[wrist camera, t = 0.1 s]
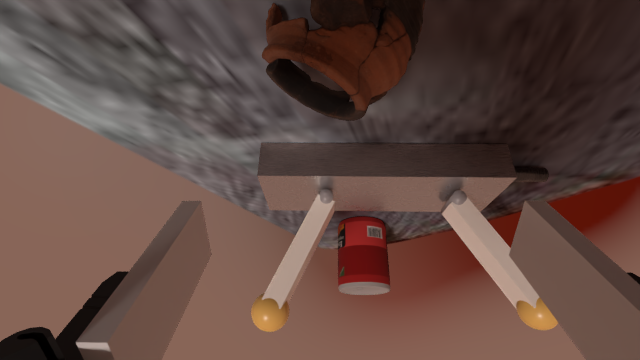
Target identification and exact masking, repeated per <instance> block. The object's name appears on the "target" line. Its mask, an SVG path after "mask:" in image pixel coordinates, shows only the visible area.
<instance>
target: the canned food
mask: <svg viewBox="0 0 640 360" xmlns="http://www.w3.org/2000/svg"><path fill="white" fill-rule="evenodd" d="M338 286H339V291H340V292H342V293H346V294H354V295H355V294H356V295H373V294H382V293H386V292H388V291H390V276H389V265H388V252H387V240H386V228H385V225H384V223H383V221H381V220H380V219H377V218H374V217H365V216H359V217H351V218H347V219H345V220H343V221H341V222H340V224H339V227H338Z"/></svg>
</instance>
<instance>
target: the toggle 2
mask: <svg viewBox="0 0 640 360" xmlns="http://www.w3.org/2000/svg"><path fill="white" fill-rule="evenodd" d="M441 214H442V215H443V216H444V217H445V218H446V220H447V221H448V222H449V224H450V225H451V226H452V227H453V229H454V230H455V231H456V233H457V234H458V235H459V236H460V238H461V239H462V240H463V241H464V243H465V244H466V245H467V246H468V248H469V249H470V251H471V252H472V253H473V254H474V256H475V257H476V258H477V259H478V261H479V262H480V263H481V265H482V266H483V267H484V268H485V270H486V271H487V272H488V273H489V275H490V276H491V277H492V279H493V280H494V281H495V283H496V284H497V285H498V286H499V288H500V289H501V290H502V291H503V293H504V294H505V295H506V296H507V298H508V299H509V300H510V302H511V303H512V304H513V306H514V307H515V308H516V309H517V312H518V315H519V316H520V318H521V319H522V321H523V322H525V324H527V325H528V326H530V327H532V328H534V329H537V330H548V329H552V328H554V327H555V326H556V325H557V324H558V321H557V320H556V319H555V317H554V316H553V314H552V313H551V312H550V310H549V309H548V308H547V306H546V305H545V304H544V302H543V301H542V300H541V298H540V297H539V296H538V294H537V293H536V291H535V290H534V289H533V287H532V286H531V285H530V283H529V282H528V281H527V279H526V278H525V277H524V275H523V274H522V272H521V271H520V270H519V268H518V267H517V266H516V264H515V263H514V262H513V260H512V259H511V258H510V256H509V253H510V250H511V249H510V247H509V246H508V245H507V244H506V243H505V241H504V240H503V239H502V238H501V237H500V236H499V234H498V233H497V232H496V231H495V230H494V228H493V227H492V226H491V225H490V224H489V222H488V221H487V220H486V219H485V218H484V216H483V215H482V214H481V213H480V212H479V211H478V209H477V208H476V207H475V206H474V205H473V203H472V202H471V201H470V200H469V199H468V197H467V195H466V193H465V192H464V191H461V190H457V191H455V192H454V193H453V195H452V196H451V197H450V198H449V200H448V201H447V202H446V203H445V205H444V206H443V207H442V209H441Z"/></svg>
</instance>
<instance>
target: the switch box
mask: <svg viewBox="0 0 640 360" xmlns="http://www.w3.org/2000/svg"><path fill="white" fill-rule="evenodd" d="M548 175H549V174H548V170H547V169H546V168H514V165H513V162H512V158H511V155H510V151H509V148H508V144H395V143H261V148H260V157H259V165H258V174H257V176H258V179H259V182H260V184H261V187H262V190H263V192H264V195H265V198H266V201H267V203H268V206H269V209H270V210H310V208H311V206H312V204H313V202H314V201H315V199H316V197H317V195H318V194H319V195H320V192H321V191H322V190H324V189H329V190H331V191H332V193H333V201H335V207H334V211H426V212H441V209H442V207H443V206H444V205H445V203H446V202H447V201H448V200H449V198H450V197H451V196H452V195H453V193H454V192H455V191H457V190H461V191H464V192H465V193H466V195H467V197H468V199H469V200H470V201H471V202H472V203H473V205H474V206H475V207H476V208H477V209H478V211H479V212H481V211H482V210H483V209H484V208H485V207H486V206H487V205H488V204H490V203H491V202H492V201H493V200H494V199H495V198H496V197H497V196H498V195H499V194H500V193H501V192H502V191H503V190H504V189H506V188H507V187H508V186H509V185H510V184H511V183H512V182H545V181H547V179H548Z"/></svg>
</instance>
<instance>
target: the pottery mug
mask: <svg viewBox="0 0 640 360" xmlns="http://www.w3.org/2000/svg"><path fill="white" fill-rule="evenodd" d="M424 4H425V0H311V9H310V11H311V15H312V18H313V19H314V21H315V22H316V23H318V24H320V25H322V27H321V28H320V29H317V30H309V25H308V20H307V19H306V18H298V19H293V20H287V21H282V13H281V11H280V9H279V7H278V6H277V5H276V4H275V3H273V4H272V7H271V9H269V11H268V18H267V20H266V34H267V42H268V44H269V45H268V46H267V47H266V48H265V49H264V51H263V53H262V58H263V59H265V60H266V61H267V62H268V63H270V64H269V65H268V66H267V68H266V72H267V74H268V75H269V77H270V78H271V79H272V80H273V81H274V82H275V83H276V84H277V85H278V86H279V87H280V88H281V89H282V90H283V91H285V92H286V93H287V94H288V95H290V96H291V97H293V98H295V99H296V100H298V101H299V102H300V103H302V104H304V105H305V106H307V107H309V108H311V109H313V110H315V111H317V112H319V113H321V114H324V115H326V116H329V117H332V118H336V119H339V120H346V121H354V120H358V119H360V118H362V117H363V116H364V115H365V113H366V111H367V108H368V106H369V105H370V104H372V103H374V102H376V101H378V100H379V99H381V98H382V97H383V96H385V95H386V93H387V91H388V90H390V89H391V88H392V87H393V86H395V85H397V84H398V82H399V80H400V78H401V77H402V76H403V75H404V74H405V72H406V68H407V63H408V61H410V60H411V57H412V55H413V54H414V52H415V46H416V44H417V42H418V36H419V34H420V31H421V27H422V23H423V18H422V15H423V9H424ZM374 8H376V9H378V8H380V10H381V12H380V18H379V24H378V27H377V28H376V27H375V25H374V24H373V23H372V22H370V21H369V19H370V17H371V15H372V9H374ZM281 21H282V22H281ZM291 60H293V61H298V62H301V63H306V64H307V65H309V66H310V67H312V68H314V69H316V70H318V71H320V72H321V73H323V74H324V75H326V76H327V77H329V78H330V79H332V80H333V81H334V82H336V83H337V84H338V85H339V86H341V87H342V88H343V89H344V90H345V91H335V90H331V89H329V88H327V87H326V86H324V85H322V84H320V83H318V82H313V81H311V78H310V76H309V75H308V74H306V73H305V72H304V71H302V70H301V69H300V68H298V67H297V66H296V65H295V64H294V63H293V62H292V61H291ZM350 97H351V98H352V100H353V101H352V102H349V100H350Z"/></svg>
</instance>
